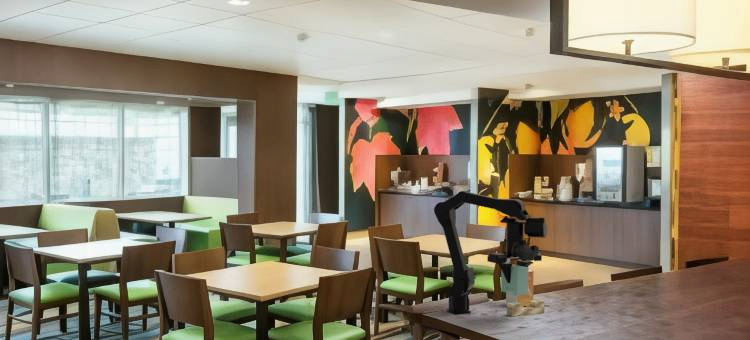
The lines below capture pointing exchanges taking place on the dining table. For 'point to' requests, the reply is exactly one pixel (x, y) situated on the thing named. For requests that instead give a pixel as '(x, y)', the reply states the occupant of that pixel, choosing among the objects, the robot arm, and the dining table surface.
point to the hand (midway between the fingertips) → (514, 282)
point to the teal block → (516, 280)
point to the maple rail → (525, 308)
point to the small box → (522, 298)
